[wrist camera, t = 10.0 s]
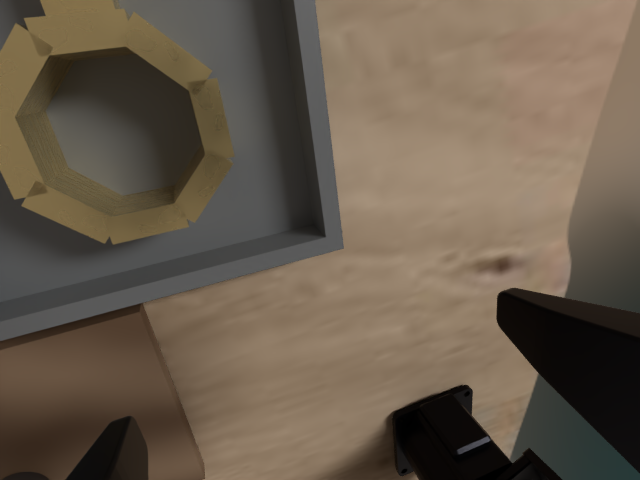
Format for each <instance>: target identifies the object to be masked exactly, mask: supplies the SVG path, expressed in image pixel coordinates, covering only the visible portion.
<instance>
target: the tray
mask: <svg viewBox="0 0 640 480" xmlns="http://www.w3.org/2000/svg"><path fill="white" fill-rule="evenodd" d="M118 2H119V6H120V9H125V10H126V12H127V13H128V14H129V15H130V17H131V15H132V14H133V12H135V13H136V14H138V15H139V16H140V17H142V18H143V19H144V20H146V21H147V22H148V23H150V24H151V25H152V26H154V27H155V28H156V29H158V30H159V31H160V32H162V33H163V34H164V35H166V36H167V37H168V38H170V39H171V40H172V41H174V42H175V43H176V44H178V45H179V46H180V47H182V48H183V49H184V50H185V51H187V52H188V53H189V54H191V55H192V56H193V57H195V58H196V59H197V60H199V61H200V62H201V63H203V64H204V65H205V66H207V67H208V68H209V69H211V70H212V72H211V74H210V75H209V77H208V79H214V78H217V80H218V84H219V89H220V93H221V98H222V102H223V107H224V111H225V116H226V120H227V125H228V129H229V134H230V138H231V142H232V147H233V151H234V156H235V157H230V159H231V161H232V162H233V165H232V167H231V168H230V170H229V171H228V173H227V174H226V176H225V177H224V179H223V180H222V182H221V184H220V185H219V187H218V188H217V190H216V191H215V193H214V194H213V196H212V197H211V199H210V200H209V202H208V203H207V205H206V207H205V208H204V210H203V211H202V213H201V214H200V216H199V217H198V219H197V220H196V222H195V223H194V222H192V221H190V220H189V227H187V228H182V229H178V230H174V231H169V232H165V233H161V234H156V235H152V236H148V237H144V238H139V239H135V240H131V241H126V242H122V243H118V244H113V243H112V241H111V238H110V236H109V238H108V239H107V241H106V243H105V244H104V243H102V242H100V241H98V240H95V239H93V238H91V237H89V236H86V235H84V234H82V233H80V232H78V231H75V230H73V229H71V228H69V227H67V226H64V225H62V224H60V223H58V222H56V221H53V220H51V219H49V218H47V217H45V216H42V215H40V214H38V213H36V212H33V211H31V210H29V209H27V208H25V207H22V206H21V205H22V203H23V202H24V200H25V198H26V197H25V198H20V199H15V200H14V198H13V196H12V194H11V192H10V190H9V188H8V186H7V184H6V182H5V180H4V177H3V175H2V173H1V171H0V341H3V340H6V339H10V338H14V337H17V336H21V335H25V334H29V333H32V332H36V331H40V330H43V329H47V328H51V327H54V326H58V325H62V324H66V323H69V322H73V321H77V320H80V319H84V318H88V317H91V316H95V315H99V314H103V313H106V312H110V311H114V310H117V309H121V308H125V307H128V306H132V305H136V304H140V303H143V302H147V301H151V300H154V299H158V298H162V297H166V296H169V295H173V294H177V293H180V292H184V291H188V290H191V289H195V288H199V287H203V286H206V285H210V284H214V283H217V282H221V281H225V280H228V279H232V278H236V277H240V276H243V275H247V274H251V273H254V272H258V271H262V270H266V269H269V268H273V267H277V266H280V265H284V264H288V263H291V262H295V261H299V260H303V259H306V258H310V257H314V256H317V255H321V254H325V253H328V252H332V251H336V250H340V249H343V248H344V246H343V237H342V229H341V220H340V212H339V203H338V195H337V186H336V177H335V169H334V160H333V152H332V143H331V134H330V126H329V117H328V109H327V100H326V92H325V83H324V74H323V66H322V57H321V49H320V40H319V31H318V23H317V14H316V6H315V0H118ZM41 16H46V15H45V12H44V10H43V7H42V4H41V1H40V0H0V51H1V49H2V48H3V46H4V44H5V42H6V40H7V38H8V36H9V35H10V33H11V31H12V29H13V27H14V25H15V23H17V24H20V25H22V26H25V27H27V25H26V23H25V20H24V18H30V17H41ZM46 113H47V116H48V118H49V121H50V123H51V126H52V128H53V130H54V133H55V135H56V138H57V140H58V143H59V145H60V148H61V150H62V152H63V155H64V157H65V160H66V162H67V165H68V167H69V168H70V169H72V170H74V171H76V172H78V173H80V174H82V175H84V176H86V177H88V178H90V179H92V180H93V181H95V182H97V183H99V184H101V185H103V186H105V187H107V188H109V189H111V190H113V191H115V192H117V193H118V194H120V195H122V196H124V195H129V194H134V193H139V192H143V191H148V190H153V189H158V188H163V187H168V186H173V185H176V183H177V181H178V180H179V178H180V177H181V175H182V174H183V172H184V170H185V169H186V167H187V166H188V164H189V163H190V161H191V159H192V158H193V156H194V155H195V153H196V151H197V150H198V148H199V147H200V145H201V144H202V143H201V139H200V135H199V131H198V127H197V123H196V119H195V115H194V112H193V108H192V104H191V100H190V96H189V92H188V90H187V89H186V88H184V87H183V86H181V85H180V84H179V83H177V82H176V81H174V80H173V79H171V78H170V77H169V76H167V75H166V74H164V73H163V72H162V71H160V70H159V69H157V68H156V67H154V66H153V65H152V64H150V63H149V62H147V61H146V60H144V59H143V58H142V57H140V56H139V55H137V54H136V53H135V54H127V55H119V56H111V57H103V58H95V59H86V60H78V61H74V62H73V64H72V66H71V67H70V69H69V71H68V73H67V74H66V76H65V78H64V80H63V81H62V83H61V85H60V87H59V88H58V90H57V92H56V94H55V95H54V97H53V99H52V101H51V102H50V104H49V106H48V108H47V110H46Z"/></svg>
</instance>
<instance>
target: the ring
mask: <svg viewBox="0 0 640 480" xmlns="http://www.w3.org/2000/svg"><path fill="white" fill-rule="evenodd" d="M40 1H41V4H42V7H43V10H44V12H45V15H46V16H41V17H30V18H24V20H25V23H26V25H27V27H25V26H22V25H20V24H17V23H15V25H14V27H13V29H12V31H11V33H10V35H9V36H8V38H7V40H6V42H5V44H4V46H3V48H2V49H1V51H0V171H1V173H2V175H3V177H4V180H5V182H6V184H7V186H8V188H9V190H10V192H11V194H12V196H13V198H14V200H15V199H20V198H25V197H26V198H25V200H24V202H23V203H22V205H21V206H22V207H25V208H27V209H29V210H31V211H33V212H36V213H38V214H40V215H42V216H45V217H47V218H49V219H51V220H53V221H56V222H58V223H60V224H62V225H64V226H67V227H69V228H71V229H73V230H75V231H78V232H80V233H82V234H84V235H86V236H89V237H91V238H93V239H95V240H98V241H100V242H102V243H104V244H105V243H106V241H107V239H108V238H109V236H110V238H111V241H112V243H113V244H118V243H122V242H126V241H131V240H135V239H139V238H144V237H148V236H152V235H156V234H161V233H165V232H169V231H174V230H178V229H182V228H187V227H189V220H190V221H192V222H194V223H195V222H196V220H197V219H198V217H199V216H200V214H201V213H202V211H203V210H204V208H205V207H206V205H207V203H208V202H209V200H210V199H211V197H212V196H213V194H214V193H215V191H216V190H217V188H218V187H219V185H220V184H221V182H222V180H223V179H224V177H225V176H226V174H227V173H228V171H229V170H230V168H231V167H232V165H233V162H232V161H231V159H230V157H235V156H234V151H233V147H232V142H231V138H230V134H229V129H228V125H227V120H226V116H225V111H224V107H223V102H222V98H221V93H220V89H219V84H218V80H217V78H214V79H208V77H209V75H210V74H211V72H212V70H211V69H209V68H208V67H207V66H205V65H204V64H203V63H201V62H200V61H199V60H197V59H196V58H195V57H193V56H192V55H191V54H189V53H188V52H187V51H185V50H184V49H183V48H182V47H180V46H179V45H178V44H176V43H175V42H174V41H172V40H171V39H170V38H168V37H167V36H166V35H164V34H163V33H162V32H160V31H159V30H158V29H156V28H155V27H154V26H152V25H151V24H150V23H148V22H147V21H146V20H144V19H143V18H142V17H140V16H139V15H138V14H136V13H135V12H133V14H132V15H131V17H130V15H129V14H128V13H127V12H126V10H125V9H120V6H119V2H118V0H40ZM135 53H136V54H137V55H139V56H140V57H142V58H143V59H144V60H146V61H147V62H149V63H150V64H152V65H153V66H154V67H156V68H157V69H159V70H160V71H162V72H163V73H164V74H166V75H167V76H169V77H170V78H171V79H173V80H174V81H176V82H177V83H179V84H180V85H181V86H183V87H184V88H186V89H187V90H188V92H189V96H190V100H191V104H192V108H193V112H194V115H195V119H196V123H197V127H198V131H199V135H200V139H201V143H202V144H201V145H200V147H199V148H198V150H197V151H196V153H195V155H194V156H193V158H192V159H191V161H190V163H189V164H188V166H187V167H186V169H185V170H184V172H183V174H182V175H181V177H180V178H179V180H178V181H177V183H176V185H173V186H168V187H163V188H158V189H153V190H148V191H143V192H139V193H134V194H129V195H124V196H122V195H120V194H118V193H117V192H115V191H113V190H111V189H109V188H107V187H105V186H103V185H101V184H99V183H97V182H95V181H93V180H92V179H90V178H88V177H86V176H84V175H82V174H80V173H78V172H76V171H74V170H72V169H70V168H69V167H68V165H67V162H66V160H65V157H64V155H63V152H62V150H61V148H60V145H59V143H58V140H57V138H56V135H55V133H54V130H53V128H52V126H51V123H50V121H49V118H48V116H47V113H46V110H47V108H48V106H49V104H50V102H51V101H52V99H53V97H54V95H55V94H56V92H57V90H58V88H59V87H60V85H61V83H62V81H63V80H64V78H65V76H66V74H67V73H68V71H69V69H70V67H71V66H72V64H73V62H74V61H78V60H86V59H95V58H103V57H111V56H119V55H127V54H135Z"/></svg>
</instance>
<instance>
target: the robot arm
mask: <svg viewBox="0 0 640 480" xmlns="http://www.w3.org/2000/svg"><path fill="white" fill-rule="evenodd" d="M497 323H498V325H499V327H500V328H501V330H502V331H503V332H504V333H505V334H506V335H507V337H508V338H509V339H510V340H511V341H512V343H513V344H514V345H515V346H516V347H517V348H518V350H519V351H520V352H521V353H522V354H523V356H524V357H525V358H526V359H527V360H528V362H529V363H530V364H531V365H532V366H533V367H534V369H535V370H536V371H537V372H538V373H539V374H540V375H541V376H542V377H543V378H544V379H545V380H546V381H547V382H548V383H549V384H550V385H551V386H552V387H553V388H554V389H555V390H556V391H557V392H558V393H559V394H560V395H561V396H562V397H563V398H564V399H565V400H566V401H567V402H568V403H569V404H570V405H571V406H572V407H573V408H574V409H575V410H576V411H577V412H578V413H579V414H580V415H581V416H582V417H583V418H584V419H585V420H586V421H587V422H588V423H589V424H590V425H591V426H592V427H593V428H594V429H595V430H596V431H597V432H598V433H599V434H600V435H601V436H602V437H603V438H604V439H605V440H606V441H607V442H608V443H610V444H611V445H612V446H613V447H614V448H615V449H616V450H617V451H618V452H619V453H620V454H621V455H622V456H623V457H624V458H625V459H626V460H627V461H628V462H629V463H630V464H631V465H632V466H633V467H634V468H635V469H636V470H637V471H638V472H639V473H640V313H636V312H631V311H626V310H621V309H617V308H612V307H607V306H602V305H597V304H592V303H587V302H582V301H577V300H572V299H567V298H562V297H557V296H553V295H548V294H543V293H538V292H533V291H528V290H523V289H518V288H510V289H507V290H504V291H501V292H500V293H499V294H498V297H497ZM472 396H473V391H472V389H471V388H470V387H469V386H468V385H463V386H461V387H458V388H456V389H453V390H451V391H448V392H446V393H443V394H441V395H438V396H435V397H433V398H430V399H428V400H425V401H423V402H420V403H418V404H415V405H413V406H410V407H408V408H405V409H403V410H400V411H398V412H396V413H395V414H394V415H393V418H392V420H393V434H394V448H395V462H396V470H397V472H398V474H399V475H400V476H404V475H406V474H409V473H411V472H413V471H414V472H415V474H416V475H417V477H418V479H419V480H562V479H561V478H560V477H559V476H558V475H557V474H556V473H555V472H554V471H553V470H552V469H551V468H550V467H549V466H547V465H546V464H545V463H544V462H543V461H542V460H541V459H540V458H539V457H538V456H537V455H536V454H535V453H534V452H533V451H532V450H531V449H530V448H528V449H527V450H526V451H524V452H523V455H522V456H521V457H520V458H519V459H518V460H516V461H515V462H514V463H512V462H511V461H510V460H509V459H508V457H507V456H506V455H505V454H504V453H503V452H502V451H501V449H500V448H499V447H498V446H497V445H496V444H495V443H494V441H493V440H492V439H491V438H490V436H489V435H488V434H487V432H486V431H485V430H484V429H483V428H482V427H481V426H480V424H479V423H478V422H477V421H476V420H475V419H474V418H473V416H472ZM65 480H149V478H148V448H147V444H146V441H145V439H144V437H143V435H142V433H141V430H140V428H139V426H138V424H137V422H136V420H135V418H134V417H133V416H130V415H129V416H126V417H123V418H120V419H117V420H114V421H112V422H110V423H109V424H108V425H107V427H106V428H105V429H104V430H103V432H102V433H101V434H100V436H99V437H98V438H97V439H96V441H95V442H94V443H93V445H92V446H91V447H90V448H89V450H88V451H87V452H86V454H85V455H84V456H83V457H82V459H81V460H80V461H79V462H78V464H77V465H76V466H75V468H74V469H73V470H72V471H71V473H70V474H69V475H68V477H67V478H66V479H65Z"/></svg>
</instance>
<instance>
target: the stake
mask: <svg viewBox="0 0 640 480" xmlns="http://www.w3.org/2000/svg"><path fill="white" fill-rule="evenodd" d="M129 415H130V416H133V417H134V418H135V420H136V422H137V424H138V426H139V428H140V430H141V433H142V435H143V437H144V439H145V441H146V444H147V448H148V478H149V480H202V479H205V471H204V462H203V460H202V457H201V455H200V452H199V449H198V447H197V444H196V442H195V439H194V436H193V434H192V431H191V429H190V426H189V423H188V421H187V418H186V416H185V413H184V410H183V408H182V405H181V402H180V400H179V397H178V395H177V392H176V389H175V387H174V384H173V382H172V379H171V376H170V374H169V371H168V369H167V366H166V363H165V361H164V358H163V356H162V353H161V350H160V348H159V345H158V343H157V340H156V337H155V335H154V332H153V330H152V327H151V324H150V322H149V319H148V317H147V314H146V311H145V309H144V306H143V304H142V303H140V304H136V305H132V306H128V307H125V308H121V309H117V310H114V311H110V312H106V313H103V314H99V315H95V316H91V317H88V318H84V319H80V320H77V321H73V322H69V323H66V324H62V325H58V326H54V327H51V328H47V329H43V330H40V331H36V332H32V333H29V334H25V335H21V336H17V337H14V338H10V339H6V340H3V341H0V480H65V479H66V478H67V477H68V475H69V474H70V473H71V471H72V470H73V469H74V468H75V466H76V465H77V464H78V462H79V461H80V460H81V459H82V457H83V456H84V455H85V454H86V452H87V451H88V450H89V448H90V447H91V446H92V445H93V443H94V442H95V441H96V439H97V438H98V437H99V436H100V434H101V433H102V432H103V430H104V429H105V428H106V427H107V425H108V424H109V423H110V422H112V421H114V420H117V419H120V418H123V417H126V416H129Z"/></svg>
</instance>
